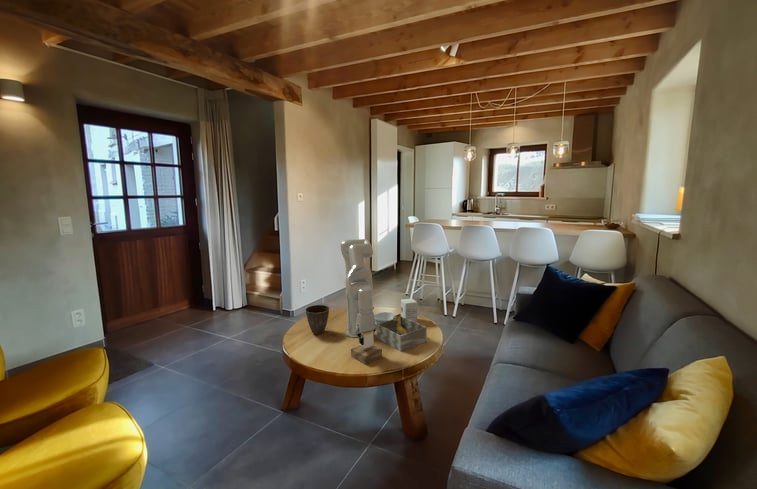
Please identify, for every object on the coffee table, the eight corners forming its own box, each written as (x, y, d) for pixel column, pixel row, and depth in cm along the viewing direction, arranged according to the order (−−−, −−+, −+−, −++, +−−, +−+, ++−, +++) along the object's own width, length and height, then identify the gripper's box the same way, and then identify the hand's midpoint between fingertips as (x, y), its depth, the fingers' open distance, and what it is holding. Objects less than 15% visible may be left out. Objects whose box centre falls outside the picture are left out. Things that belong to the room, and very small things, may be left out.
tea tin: (359, 344, 186) (358, 330, 185) (367, 341, 189) (367, 328, 188) (365, 348, 181) (364, 334, 180) (373, 345, 185) (373, 331, 183)
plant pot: (332, 328, 226) (331, 305, 224) (327, 337, 212) (326, 313, 209) (310, 327, 228) (309, 304, 225) (303, 337, 213) (302, 312, 210)
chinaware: (397, 331, 219) (397, 320, 218) (373, 331, 219) (373, 320, 218) (396, 322, 234) (396, 312, 233) (374, 322, 234) (374, 312, 233)
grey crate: (376, 337, 210) (376, 324, 209) (402, 329, 222) (402, 316, 221) (400, 351, 192) (400, 336, 191) (426, 341, 204) (426, 327, 203)
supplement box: (400, 319, 239) (400, 299, 237) (412, 318, 242) (412, 297, 239) (405, 324, 230) (405, 303, 228) (417, 322, 233) (417, 301, 231)
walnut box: (351, 357, 187) (350, 349, 186) (367, 350, 195) (367, 342, 194) (365, 365, 178) (365, 356, 177) (382, 357, 186) (382, 349, 186)
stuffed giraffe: (397, 330, 219) (397, 307, 216) (420, 339, 208) (421, 314, 205) (381, 340, 207) (381, 315, 204) (405, 349, 196) (405, 324, 193)
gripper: (374, 305, 190) (375, 336, 193) (348, 312, 180) (349, 344, 183) (382, 309, 184) (383, 340, 187) (355, 316, 174) (356, 349, 177)
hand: (366, 342), depth 185 cm, fingers closed on tea tin, 5 cm apart
